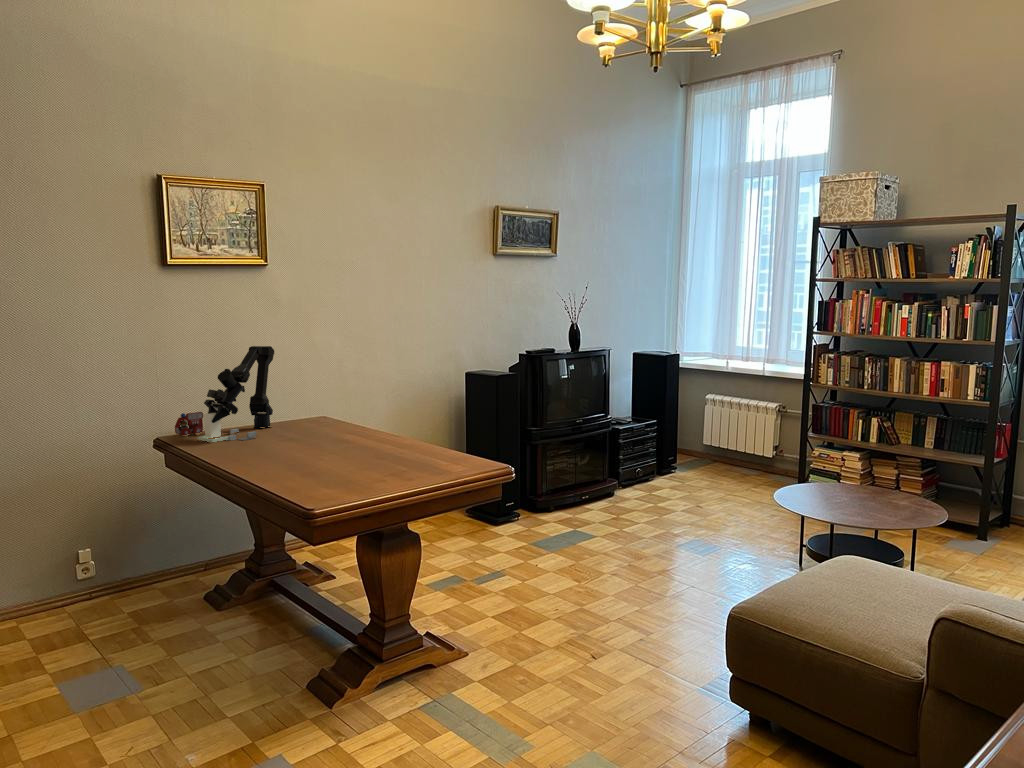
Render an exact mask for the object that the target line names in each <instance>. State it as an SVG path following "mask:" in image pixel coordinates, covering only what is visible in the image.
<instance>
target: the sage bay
mask: <svg viewBox="0 0 1024 768" xmlns="http://www.w3.org/2000/svg"><path fill="white" fill-rule="evenodd" d="M228 436H229V435H227V436H226V435H225V436H220V438H215V439H208V438H209V437H206V435H202V436H197V437H196V440H197V439H199V440H202V441H207V442H210V443H209V444H212V443H211V442H214V443H218V442H217V441H220V442H224V441H223V440H226V441H230V440H229V437H228ZM202 441H201V442H202ZM207 442H206V443H207Z"/></svg>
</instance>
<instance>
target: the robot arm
mask: <svg viewBox="0 0 1024 768" xmlns="http://www.w3.org/2000/svg"><path fill="white" fill-rule="evenodd" d="M274 356H275V349H274V348H273V347H272V346H270V345H269V346H266V345H265V346H263V345H261V346H260V345H257V346H256V345H252V346H249V347H248V351H247V353H246V354H245V356H244V357H243V358H242V361H241V362H240V364H238V365H237V366H235V367H234V368H232V369H230V368H225V369H224V370H222V371H221V372H219V374H218V375H217V380H218V382H220V384H222V386H223V387H224V388H225V390H223V389H220V388H219V389H208V391H207V394H206V397H207V398H209V399H205V400H204V402H203V404H204V405H205V406H206V407H207V408H208V411H207V414H209V413H216V415H215V416H214V418H213V420H212V423H215V422H217V421H218V420H220V421H221V420H222V419H224V418H225V417H228V416H230V415H231V414H232V415H236V414H238V411H239V408H238V406H236V405H235V404H234V403H236V402H237V397H238V396H239V395H240V393H241V392H242V393H245V392H246V389H245V385H242V384H243V383H245V384H247V382H248V381H249V378H250V376H251V373H250V371H251V369H252V367H253V365H254V364H255V362H257V371H256V382H255V392H254V395H251V396H250V398H249V406H248V408H249V411H250V414H251V416H254V419H253V427H256V428H255V429H258V428H260V427H268V426H271V416H272V415H273V411H274V410H273V408H272V407H271V405H270V399H269V398H268V395H267V387H268V377H269V369H270V368H269V367H270V365H271V363H272V361H273V359H274ZM241 383H242V384H241Z"/></svg>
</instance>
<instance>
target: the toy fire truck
mask: <svg viewBox="0 0 1024 768" xmlns="http://www.w3.org/2000/svg"><path fill="white" fill-rule="evenodd" d="M203 419H204V413H203V412H202V411H198V412H197V411H196V412H189V413H181V414H180V417H178V418H177V420H176V422H175V425H174V432H175V434H176V435H179V436H182V435H187V434H190V435H191V434H192V433H200V432H202V433H203V430H204V423H203V421H204V420H203Z"/></svg>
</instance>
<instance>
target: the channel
mask: <svg viewBox="0 0 1024 768" xmlns="http://www.w3.org/2000/svg"><path fill="white" fill-rule="evenodd" d="M239 430H240V429H239V428H234V429H229V432H228V433H229V435H227V436H228V437H229V440H228V441H230V440H231V441H236V440H238V441H243V442H245V441H249V440H255V439H256V437H257V431H250V432H246V437H239V438H237V435H236V434H230V433H234V432H239V433H240V431H239Z"/></svg>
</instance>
